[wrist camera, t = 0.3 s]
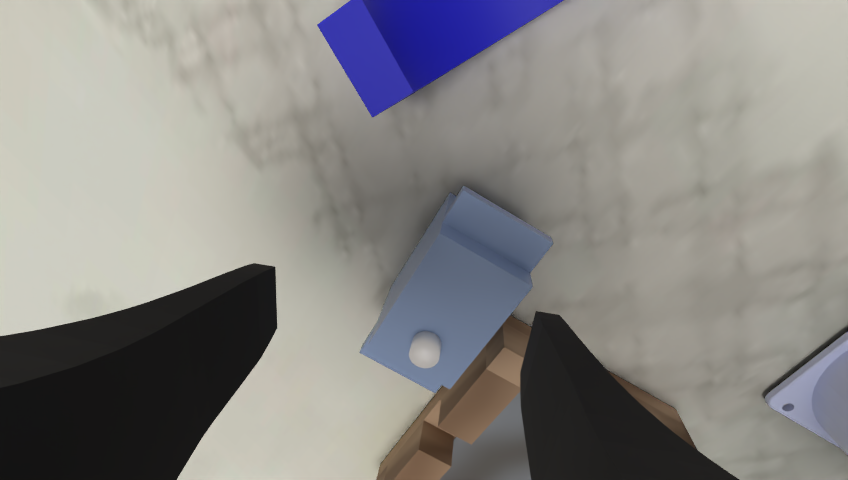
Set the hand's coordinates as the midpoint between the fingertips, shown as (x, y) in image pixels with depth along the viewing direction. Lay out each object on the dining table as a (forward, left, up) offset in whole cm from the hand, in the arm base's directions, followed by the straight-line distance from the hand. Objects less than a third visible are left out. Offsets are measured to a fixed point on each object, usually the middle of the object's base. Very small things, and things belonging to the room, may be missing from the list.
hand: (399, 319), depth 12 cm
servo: (-2, +2, -10) cm, 10 cm away
